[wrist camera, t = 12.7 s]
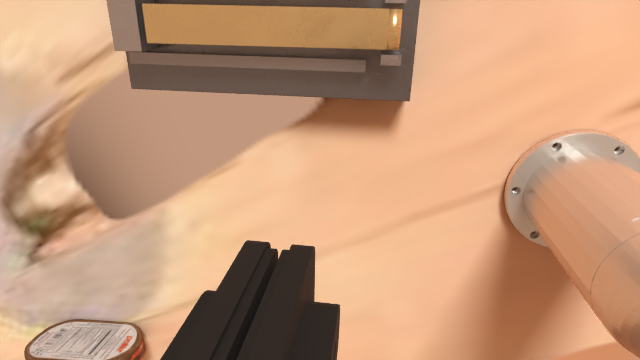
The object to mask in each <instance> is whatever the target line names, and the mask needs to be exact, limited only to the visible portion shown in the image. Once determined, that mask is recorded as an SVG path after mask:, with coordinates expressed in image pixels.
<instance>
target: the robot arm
mask: <svg viewBox="0 0 640 360" xmlns="http://www.w3.org/2000/svg"><path fill="white" fill-rule="evenodd" d="M554 143H556V144H555V145H554V146H552V145H553V144H554ZM616 147H617V148H616ZM615 148H616V149H615ZM514 187H516V188H515V189H512V188H514ZM504 202H505V208H506V211H507V214H508V216H509V218H510V220H511V222H512V223H513V225H514V226H515V228H516V229H517V230H518V231H519V232H520V233H521V234H522V235H523V236H524V237H525V238H527V239H528V240H530V241H532V242H534V243H536V244H538V245H540V246H544V247H548V248H549V249H550V250H551V252H552V253H553V254H554V256H555V257H556V259H557V260H558V261H559V263H560V264H561V266H562V267H563V269H564V270H565V271H566V273H567V274H568V276H569V277H570V279H571V280H572V281H573V283H574V284H575V286H576V287H577V289H578V290H579V291H580V293H581V294H582V296H583V297H584V299H585V300H586V301H587V303H588V304H589V306H590V307H591V309H592V310H593V311H594V313H595V314H596V316H597V317H598V318H599V319H600V321H601V322H602V324H603V325H604V326H605V328H606V329H607V331H608V332H609V333H610V334H611V335H612V336H613V338H614V339H615V340H616V341H617V342H618V343H620V344H621V345H622V346H623V347H624V348H625V349H627V350H628V351H630V352H631V353H633V354H634V355H636V356H637V357H639V358H640V158H639V156H638V154H637V153H636V152H635V151H634V150H633V149H632V148H631V147H630V146H629V145H628V144H626V143H624V142H623V141H621V140H619V139H618V138H615V137H613V136H611V135H609V134H606V133H602V132H598V131H590V130H577V131H569V132H564V133H561V134H557V135H554V136H552V137H549V138H547V139H545V140H543V141H541V142H539V143H538V144H536V145H535V146H533V147H532V148H531V149H529V150H528V151H527V152H526V153H525V154H524V155H523V156H522V157H521V158H520V159H519V160H518V162H517V163H516V164H515V166H514V167H513V168H512V170H511V172H510V175H509V177H508V179H507V182H506V186H505V192H504ZM314 288H315V247H314V246H303V245H291V247H290V250H282V252H281V255H280V257H279V259H278V251H277V249H271V246H270V243H269V242H260V241H249V240H248V241H246V242H245V243H244V245H243V247H242V248H241V250H240V252H239V253H238V255H237V257H236V258H235V260H234V262H233V263H232V265H231V267H230V268H229V270H228V272H227V274H226V275H225V277H224V279H223V280H222V282H221V284H220V285H219V287H218V289H217V290H216V291H210V290H207V291H205V292H204V293H203V294H202V295H201V297H200V298H199V300H198V301H197V303H196V305H195V306H194V308H193V309H192V311H191V312H190V314H189V316H188V317H187V319H186V320H185V322H184V323H183V325H182V327H181V328H180V330H179V331H178V333H177V334H176V336H175V338H174V339H173V341H172V342H171V344H170V345H169V347H168V349H167V350H166V352H165V353H164V355H163V356H162V358H161V360H337V351H338V339H339V321H340V305H339V304H330V303H320V302H314Z"/></svg>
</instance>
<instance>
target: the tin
mask: <svg viewBox="0 0 640 360" xmlns="http://www.w3.org/2000/svg"><path fill="white" fill-rule="evenodd" d="M145 351H146V345H145V342H144V339H143V335H142V332H141V330H140V328H139V327H138V326H136V325H134V324H132V323H125V322H111V321H98V320H83V319H75V320H68V321H64V322H60V323H58V324H55V325H53V326H50V327H49V328H47V329H45V330H44V331H43V332H41V333H40V334H39V335H37V336H36V337H35V338H34V339H33V340H32V341H31V342H30V343H29V344H28V345H27V346H26V348H25V351H24V354H25V359H26V360H141V359H142V358H143V356H144V354H145Z"/></svg>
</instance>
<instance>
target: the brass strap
mask: <svg viewBox="0 0 640 360" xmlns="http://www.w3.org/2000/svg"><path fill="white" fill-rule="evenodd" d="M142 8H143V16H144V23H145V30H146V38H147V43H163V44H199V45H235V46H271V47H308V48H344V49H380V50H399V46H400V35H401V24H402V13H403V9H386V8H338V7H289V6H240V5H192V4H142Z"/></svg>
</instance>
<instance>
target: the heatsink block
mask: <svg viewBox="0 0 640 360" xmlns="http://www.w3.org/2000/svg"><path fill="white" fill-rule="evenodd" d="M142 4H192V5H240V6H289V7H338V8H386V9H403V13H402V24H401V35H400V46H399V50H380V49H344V48H308V47H271V46H235V45H199V44H163V43H147V38H146V30H145V23H144V16H143V8H142ZM419 5H420V0H107V6H108V12H109V18H110V24H111V30H112V36H113V42H114V48H115V51H126V55H127V62H128V68H129V75H130V81H131V87H132V89H151V90H173V91H196V92H216V93H238V94H261V95H283V96H304V97H326V98H347V99H369V100H391V101H410V93H411V83H412V73H413V64H414V54H415V44H416V34H417V25H418V15H419Z"/></svg>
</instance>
